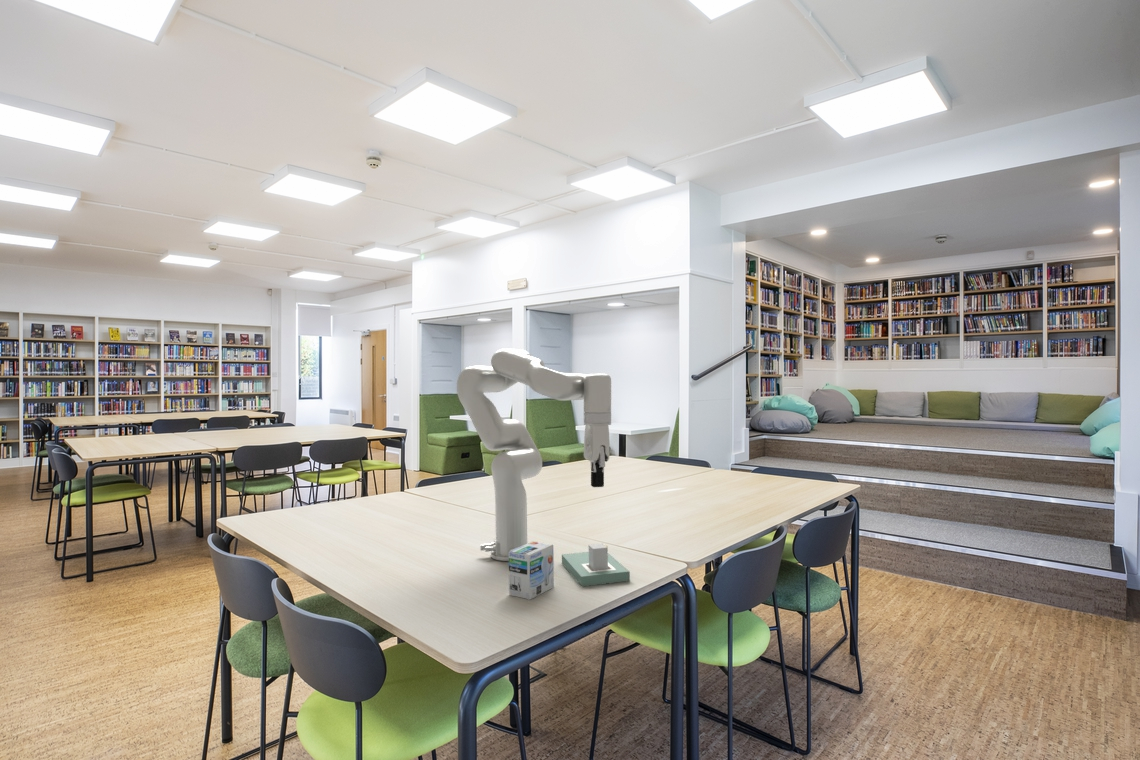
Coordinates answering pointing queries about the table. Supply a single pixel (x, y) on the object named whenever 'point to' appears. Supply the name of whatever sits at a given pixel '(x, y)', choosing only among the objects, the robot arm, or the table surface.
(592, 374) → the robot arm
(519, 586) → the light bulb box
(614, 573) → the board
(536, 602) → the table surface
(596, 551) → the plug
